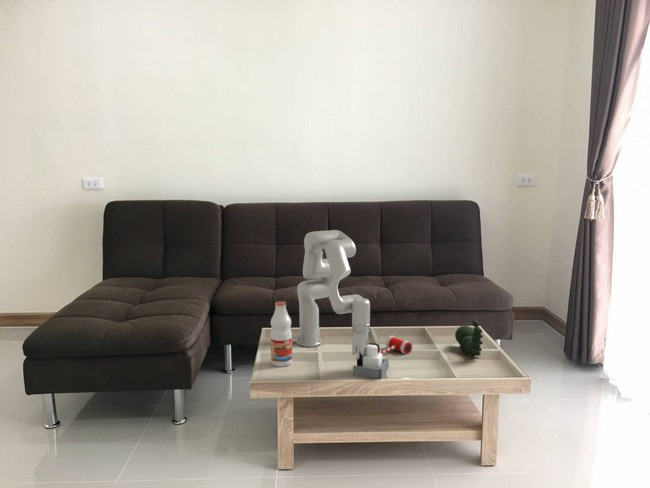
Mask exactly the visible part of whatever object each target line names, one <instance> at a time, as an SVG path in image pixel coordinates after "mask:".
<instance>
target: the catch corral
mask: <svg viewBox="0 0 650 488" xmlns="http://www.w3.org/2000/svg"><path fill="white" fill-rule="evenodd" d="M389 361H390V360H389V358H382V365H381V367H380V368H372V367H363V366H357V365H353V367H352V371H353V372H352V374H353V375H352V376H355V377H363V378H370V379H372V378H373V379H379V380H380V379H381V380H382V379H383V378H384V376H385V375H386V373H387V371H388V370H389V367H390V365H389V363H390V362H389Z"/></svg>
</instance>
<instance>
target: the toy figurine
mask: <svg viewBox="0 0 650 488" xmlns="http://www.w3.org/2000/svg"><path fill="white" fill-rule="evenodd" d="M471 324H472V326H473V327H474V328H472V327H471V326H468V325H460V326H459V327H458V328H457V329H456V330H455V334H454V337H455V340H456V342H457V343H458V344H459V347H460V349H459V350H460V351H462V352H463V354H464V355H465V356H469V357H472V356H473V355H475V356H481V352H482V350H483V349H482V346H481V345H483V344H484V343H483V341H482V338H483V337H484V336H483V335H482V333H483V329H481V327H479V326H480V325H479V322H478V320H477V319H474V318H473V319H472V320H471Z"/></svg>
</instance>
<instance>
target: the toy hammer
mask: <svg viewBox="0 0 650 488" xmlns="http://www.w3.org/2000/svg"><path fill="white" fill-rule="evenodd" d="M385 347H386V348H385V349H383V350H380V353H381V354H382V355H383V354H385V353H388V352H390V351H392V350H394V351H397V350H398V352H399V353H402V354H403V355H408V353H409V354H411V352H412V350H413V343H412V342H411V341H409V340H403V339H401V338H397V336H396V335H389V336H388V337H387V339H386V341H385Z"/></svg>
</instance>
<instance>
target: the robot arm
mask: <svg viewBox="0 0 650 488" xmlns="http://www.w3.org/2000/svg"><path fill="white" fill-rule="evenodd" d="M303 244H304V251H305V252H304V259H303V266H302V275H303V278H304V279H305V280H304V281H301V282H299V284H298V285H297V287H296V292H297V297H298V304H299V305H298V307H299V308H298V309H299V312H298V313H299V333H292V339H297V340H296V344H297V345H298V346H299V345H300V347H303V346H304V348H305V347H306V348H314V347H318V346H317V345H318V344H320V343H322V344H323V339H321V338H320V313H319V312H320V310H319V309H320V308H319V306H318V304H317V303H316V302H315V300H318V299H325V298H328V299H329V302H330V305H331V308H332V310H333V312H335V314H338V315H343V314H351V317H352V318H351V326H352V327H351V331H352V332H353V335H352V346H351V347H352V348H351V355H352V356H355V355H356V356H355V357H356V366H362V365H363V356H364V355H365V353H366V345H367V344H368V343H369V332H370V331H371V330H370V329H371V327H370V326H371V324H370V323H371V302H370V300H369V299H368V298H366V297H365V298H364V297H363V296H362V295H360V294H357V293H356V294H347V295H341V296H340V293H339V287H338V286H339V282H340V281H341V280H343V279H344V278H346V277H348V276H349V275H350V274H351V272H352V271H351V267H350V263H349V261H348V258H353V257H354V256H355V255H356V252H357V248H356V245H355V243H354V241H353V240H352V239H351V238H350V237H349V236H348V235H347V234H345V233H344V232H342V231H340V230H338V229H332V230H331V229H330V230H319V231H309V232H308V233H306V235H305V237H304V240H303ZM323 250H324V251H325V252H323ZM324 253H325V256H326V258H323V255H324ZM319 339H320V342H319ZM318 342H319V343H318Z"/></svg>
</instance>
